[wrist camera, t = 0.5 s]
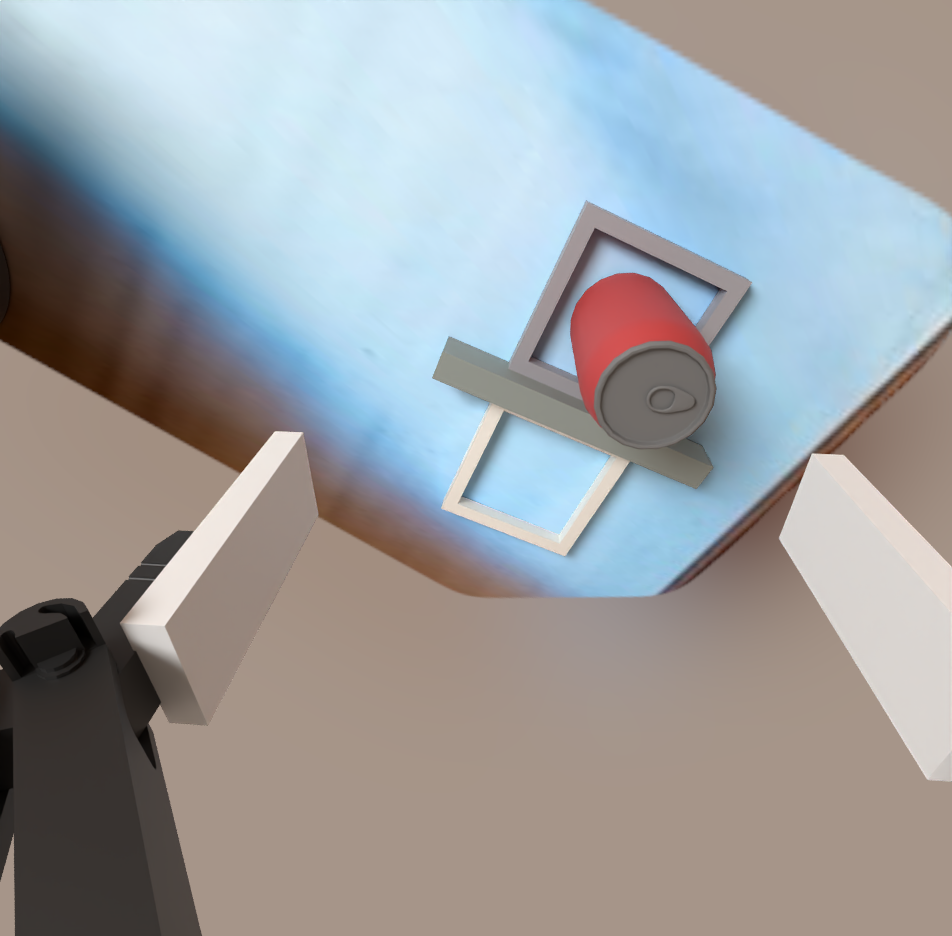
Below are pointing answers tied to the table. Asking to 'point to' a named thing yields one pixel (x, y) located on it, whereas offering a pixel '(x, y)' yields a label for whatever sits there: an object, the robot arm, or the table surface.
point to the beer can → (641, 363)
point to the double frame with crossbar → (573, 386)
